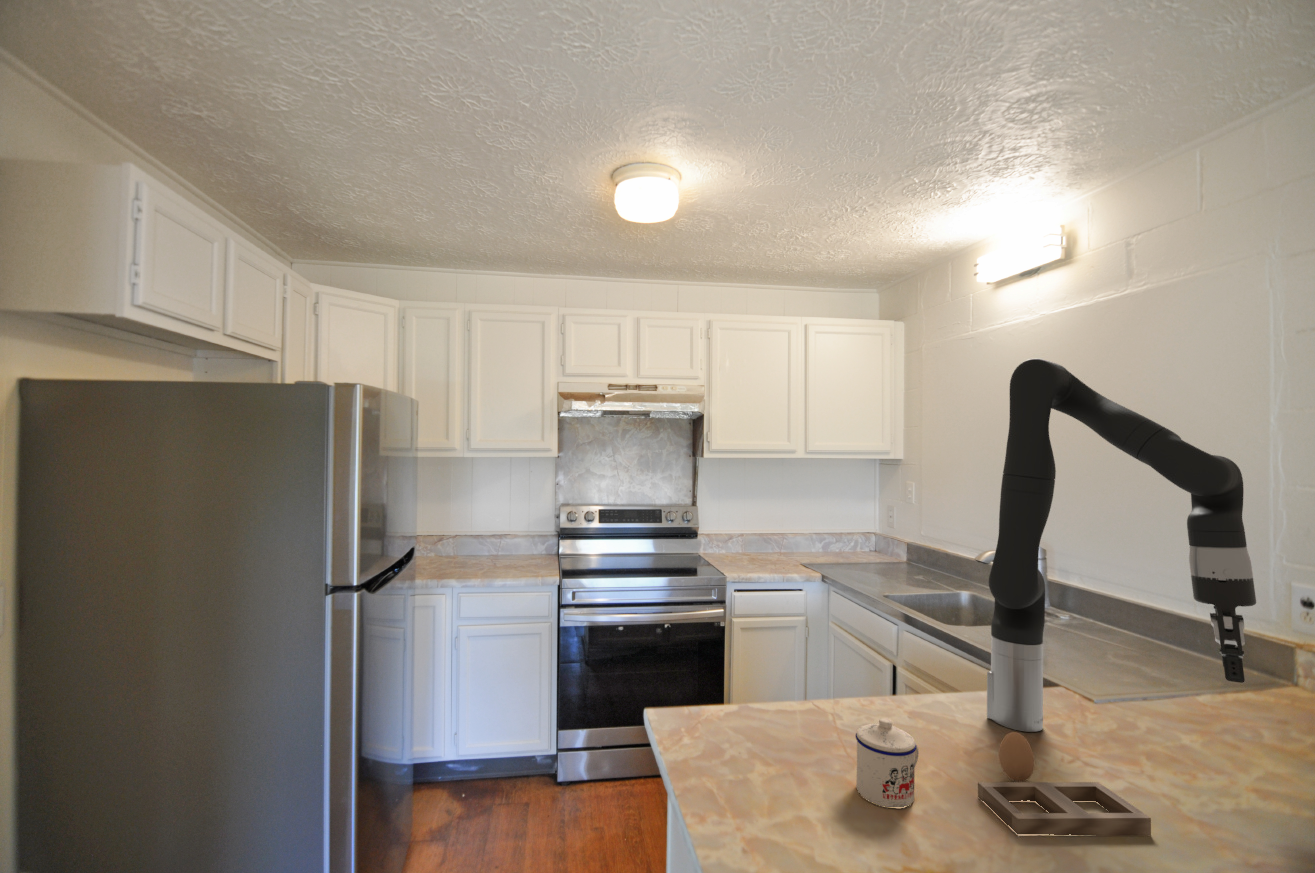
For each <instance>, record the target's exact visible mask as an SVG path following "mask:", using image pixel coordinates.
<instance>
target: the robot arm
mask: <svg viewBox="0 0 1315 873" xmlns="http://www.w3.org/2000/svg"><path fill="white" fill-rule="evenodd" d="M1052 410H1055V411H1057V412H1060V413H1062V414H1065V415H1068V416H1069V417H1072V418H1073V419H1075V420H1077V421H1079V422H1081V423H1082V424H1083V425H1085V426H1087V427H1088V428H1089V429H1091V430H1092V431H1093V432H1094V433H1096V434H1097V435H1099V437H1101V438H1103V440H1105V441H1106V442H1107V443H1109V444H1111V445H1113V446H1114V447H1115V448H1117V449H1118V450H1120V451H1122V452H1123V453H1125V454H1127V455H1128V456H1130V457H1132V458H1133V459H1136V460H1138V461H1139V462H1141V463H1142V464H1145V465H1147V466H1149V467H1151V468H1152V469H1153V470H1154V471H1155V472H1157V473H1158V474H1159V475H1161V476H1162V477H1163V478H1164V479H1166V480H1168V481H1169V482H1171V483H1172V484H1173V485H1175V486H1177V487H1178V488H1180V489H1181V490H1184V491H1185V492H1187V493H1189V494H1190V503H1191V511H1190V513H1189V514H1188V516H1187V520H1186V530H1187V536H1188V537H1187V538H1188V544H1189V556H1188V559H1189V560H1188V561H1189V562H1188V563H1189V569H1190V578H1191V587H1192V588H1191V589H1192V594H1193V599H1194V600H1195V601H1196V602H1197V603H1201V604H1206V605H1213V609H1214V612H1209V618H1210V624H1211V625H1210V626H1212V628H1213V632H1214V633H1213V634H1214V640H1215V642H1216V643H1217V644H1219V647H1220V648H1219V654H1221V660H1222V667H1223V670H1224V671H1223V672H1224V678H1225V680H1226V681H1228V682H1235V683H1241V684H1242V683H1244V682H1245V681H1246V680H1245V672H1244V666H1243V659H1244V656H1245V651H1244V650H1243V646H1245V644H1246V642H1245V641H1246V639H1245V634H1244V630H1245V621H1244V617H1243V615H1242V614H1237V612H1236V608H1238V607H1253V606H1255V605H1256V604H1257V596H1256V589H1255V583H1254V582H1255V581H1254V574H1253V566H1252V561H1251V558H1250V555H1249V550H1248V545H1247V538H1246V531H1245V524H1244V521H1243V509H1244V493H1245V492H1244V490H1245V489H1244V481H1243V480H1244V479H1243V476H1242V475H1243V474H1242V471H1241V469H1240V467H1239V466H1238V465H1237V464H1236V462H1234V461H1233V460H1231V459H1230V458H1228V457H1225V456H1222V455H1215V454H1214V455H1213V454H1210V453H1208V452H1206V451H1204V450H1202V449H1200V448H1199V447H1196V446H1194V445H1192V444H1190V443H1189V442H1187V441H1184V440H1183V439H1182V438H1181V437H1180V435H1178V434H1177V433H1176V432H1174V431H1172V430H1171V429H1169V428H1167V427H1165V426H1163V425H1161V424H1159V423H1158V422H1156V421H1154V420H1153V419H1152V420H1151V419H1150V418H1148V417H1145V416H1144V415H1141V414H1139V413H1138V412H1136V411H1133V410H1132V409H1130V408H1128V407H1125V406H1123V405H1121V404H1119V403H1117V402H1115V401H1113V400H1111V399H1108V398H1107V397H1106V396H1105V395H1103V394H1100V393H1099V392H1097V391H1096V390H1094V389H1092V388H1091V387H1089V386H1088V385H1087V384H1085V383H1084V382H1083V381H1081V380H1080V379H1079V378H1078V377H1077V376H1075V375H1074V374H1072V373H1071V372H1070V371H1069V370H1068V369H1066V367H1064V366H1063V365H1062V364H1059V363H1056V362H1053V361H1050V360H1046V359H1043V358H1029V359H1026V360H1024V361H1023V362H1021V363H1019V365H1017V366H1016V367H1015V369H1014V371H1013V373H1012V374H1011V376H1010V381H1009V425H1008V435H1007V442H1006V448H1005V450H1006V451H1005V456H1004V457H1005V459H1004V464H1003V471H1002V477H1001V478H1002V479H1001V487H1000V497H999V498H1000V502H999V515H998V516H999V517H998V537H997V544H996V548H995V553H994V556H993V561H992V565H991V568H990V572H989V575H988V586H989V587H988V588H989V590H990V593H991V595H992V596H993V598H994V606H993V607H994V609H993V616H992V620H991V623H990V633H991V634H990V635H991V638H990V640H991V641H990V647H991V648H990V649H991V650H990V652H991V653H990V670H988V671H987V673H986V674H987V675H986V718H987V719H990V720H992V721H993V722H994V723H997V724H999V725H1001V726H1003V727H1004V728H1008V729H1010V730H1011V729H1012V730H1015V731H1019V732H1026V733H1028V732H1029V733H1034V732H1036V733H1037V732H1040V731H1042V730H1043V729H1044V727H1043V725H1044V641H1043V640H1044V630H1045V621H1046V618H1045V617H1046V584H1045V579H1044V576H1043V574H1042V572H1041V571H1040V570H1039V555H1040V554H1039V553H1040V552H1039V551H1040V545H1041V539H1042V536H1043V533H1044V531H1045V528H1046V524H1047V521H1048V518H1049V515H1050V511H1051V508H1052V504H1053V498H1054V494H1055V493H1054V491H1055V485H1056V484H1055V483H1056V475H1057V473H1056V472H1057V471H1056V462H1055V457H1054V452H1053V447H1052V443H1051V438H1050V418H1051V411H1052Z"/></svg>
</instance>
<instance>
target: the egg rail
mask: <svg viewBox="0 0 1315 873" xmlns="http://www.w3.org/2000/svg"><path fill="white" fill-rule="evenodd" d="M978 797H979V798H980V799H981V800H982V801H984V802H985V803H986V804H987V805H988V806H989V807H990V808H991V809H992V810H993V811H994V812H995V813H996V814H997V815H998V816H999V817H1000V818H1001V819H1002V820H1003V821H1004V822H1005V823H1006V824H1007V825H1009V826H1010V827H1011V828H1012V829H1013V830H1014V831H1015V832H1016V833H1017V834H1049V835H1050V834H1054V835H1069V834H1071V835H1096V836H1095V837H1142V836H1145V837H1147V836H1148V837H1151V836H1152V817H1150V816H1149V815H1148V814H1146V813H1144V812H1143V811H1142V810H1140V809H1139V808H1137V807H1135V806H1134V805H1132V804H1131V803H1129V801H1126V800H1125V799H1124V798H1123V797H1121V796H1119V795H1118V794H1116V793H1115V792H1114V791H1112V790H1110V788H1108V787H1106V786H1105V785H1103V784H1102V783H1100V782H1099V781H1067V782H1066V781H1062V782H1061V781H1049V782H1048V781H1043V782H1042V781H1037V782H1036V781H1034V782H1033V781H1030V782H1029V781H1023V782H1016V781H1013V782H1012V781H1011V782H1010V781H1009V782H1008V781H1006V782H1005V781H999V782H998V781H996V782H995V781H994V782H993V781H990V782H989V781H988V782H986V781H983V782H982V781H978V782H977V798H978ZM1021 800H1023V801H1027V800H1030V801H1036V802H1037V803H1038V804H1039V805H1040V806H1042V807H1043V808H1044V809H1045V810H1047V811H1048V812H1049V813H1046V812H1045V813H1044V812H1035V813H1034V812H1033V813H1032V812H1030V813H1029V812H1028V813H1027V812H1026V813H1022V812H1021V811H1020V810H1019V809H1018V808H1016V806H1014V804H1013V803H1010V802H1009V801H1021ZM1073 801H1096V802H1098V803H1099V804H1100V805H1101V806H1103V807H1104V808H1105V809H1107V810H1108V811H1109V812H1110V813H1109V812H1108V811H1107V812H1087V810H1085V809H1084V808H1082V807H1081V806H1080V805H1078V804H1077V803H1074V802H1073ZM1100 805H1099V806H1100ZM1101 806H1100V807H1101ZM1104 808H1103V809H1104ZM1105 809H1104V810H1105Z"/></svg>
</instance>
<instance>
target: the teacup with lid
mask: <svg viewBox="0 0 1315 873" xmlns="http://www.w3.org/2000/svg"><path fill="white" fill-rule="evenodd" d="M855 739H856V791H857V790H858V791H857V792H858V794H859V793H860V794H861V795H860V794H859V795H860V796H861V797H862V796H863V797H864V798H865V799H867V800H869V801H870V802H873V803H875V804H877V805H880V806H885V807H904V806H908V805H910V806H912V805H911V803H912V802H913V801H915V768H916V765H917V763H918V761H919V747H918V744H916V741H915V739H914V737H913V736H912V735H910V734H909V733H908V732H906V731H905V730H903V729H901V728H898V727H897V726H894V725H893V722H892V720H891V719H889V718H887V717H883V718H881V717H880V719H879V721H878V722H877V723H869V724H864V725H862V726H860V727H859V728H858V729H857V730H856V732H855ZM863 797H862V798H863ZM864 798H863V799H864ZM865 799H864V800H865ZM867 800H866V801H867ZM869 801H868V802H869ZM870 802H869V803H870ZM913 803H914V802H913ZM877 805H876V806H877ZM880 806H879V807H880Z"/></svg>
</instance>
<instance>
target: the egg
mask: <svg viewBox="0 0 1315 873" xmlns="http://www.w3.org/2000/svg"><path fill="white" fill-rule="evenodd" d="M998 761H999V764H1000V767H1001V768H1002V771H1003V772H1004V774H1005V775H1006V776H1007V777H1008V778H1009V779H1010V780H1012V781H1013V782H1016V781H1017V782H1027V780H1029V779H1030V777H1032V775H1033V773H1034V770H1035V754H1034V752H1033V749H1032V747H1031V744H1030V743H1029V741H1028V739H1027V738H1026V737H1025V736H1023V734H1021V733H1020V732H1017V731H1012V732H1009V733H1007V734H1006V735H1004V737H1003V739H1002V740H1001V742H1000V745H999V747H998Z"/></svg>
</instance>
